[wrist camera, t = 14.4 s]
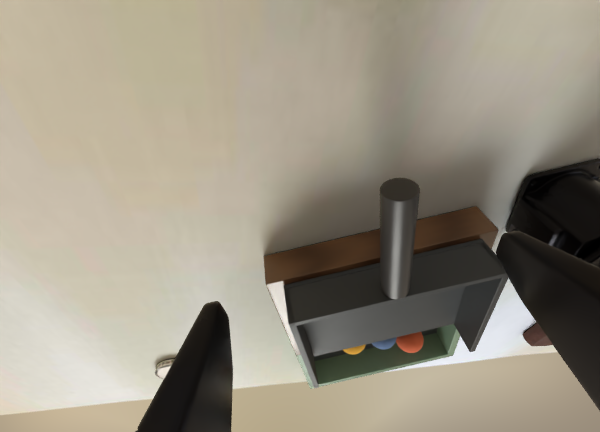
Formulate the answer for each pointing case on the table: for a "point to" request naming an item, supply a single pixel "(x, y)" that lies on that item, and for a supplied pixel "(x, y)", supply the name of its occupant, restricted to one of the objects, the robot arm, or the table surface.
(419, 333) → the terracotta ball
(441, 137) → the table surface
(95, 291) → the table surface
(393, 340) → the slate-blue ball
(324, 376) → the bin
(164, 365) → the white bottle cap
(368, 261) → the stand
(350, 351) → the mustard ball
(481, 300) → the pan
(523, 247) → the robot arm
